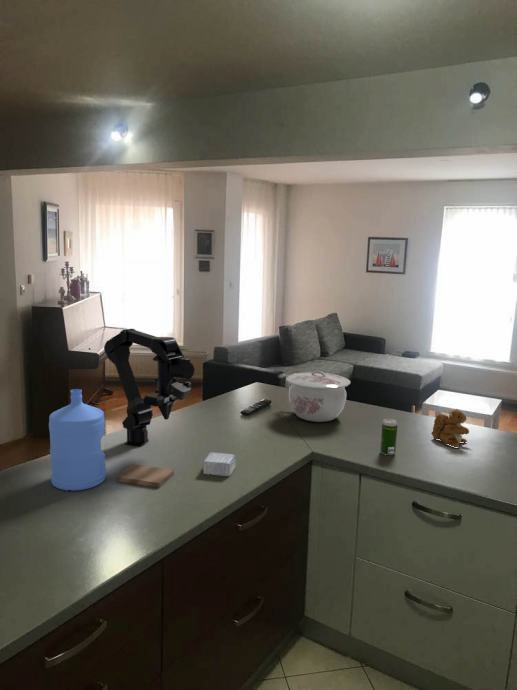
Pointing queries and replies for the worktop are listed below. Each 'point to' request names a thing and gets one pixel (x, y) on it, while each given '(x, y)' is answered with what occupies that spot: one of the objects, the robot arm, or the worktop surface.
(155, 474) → the walnut cutting board
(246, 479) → the worktop surface
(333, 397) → the chamber pot
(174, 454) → the worktop surface
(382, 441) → the beer can
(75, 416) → the water jug
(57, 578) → the worktop surface
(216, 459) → the medicine box
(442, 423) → the stuffed squirrel
